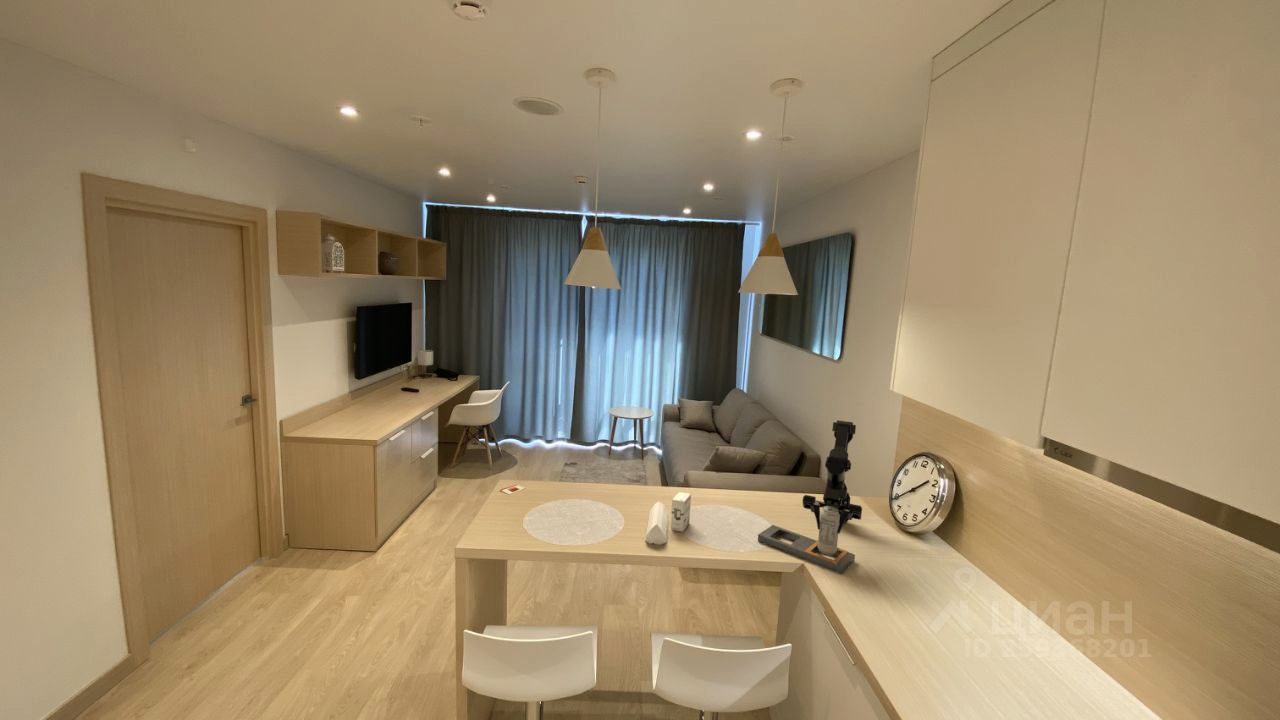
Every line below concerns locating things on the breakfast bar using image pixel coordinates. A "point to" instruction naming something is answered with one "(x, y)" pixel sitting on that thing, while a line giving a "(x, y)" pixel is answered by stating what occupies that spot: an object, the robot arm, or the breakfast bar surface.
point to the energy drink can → (828, 530)
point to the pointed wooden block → (657, 524)
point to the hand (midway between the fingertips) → (828, 531)
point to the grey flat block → (806, 549)
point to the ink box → (680, 511)
